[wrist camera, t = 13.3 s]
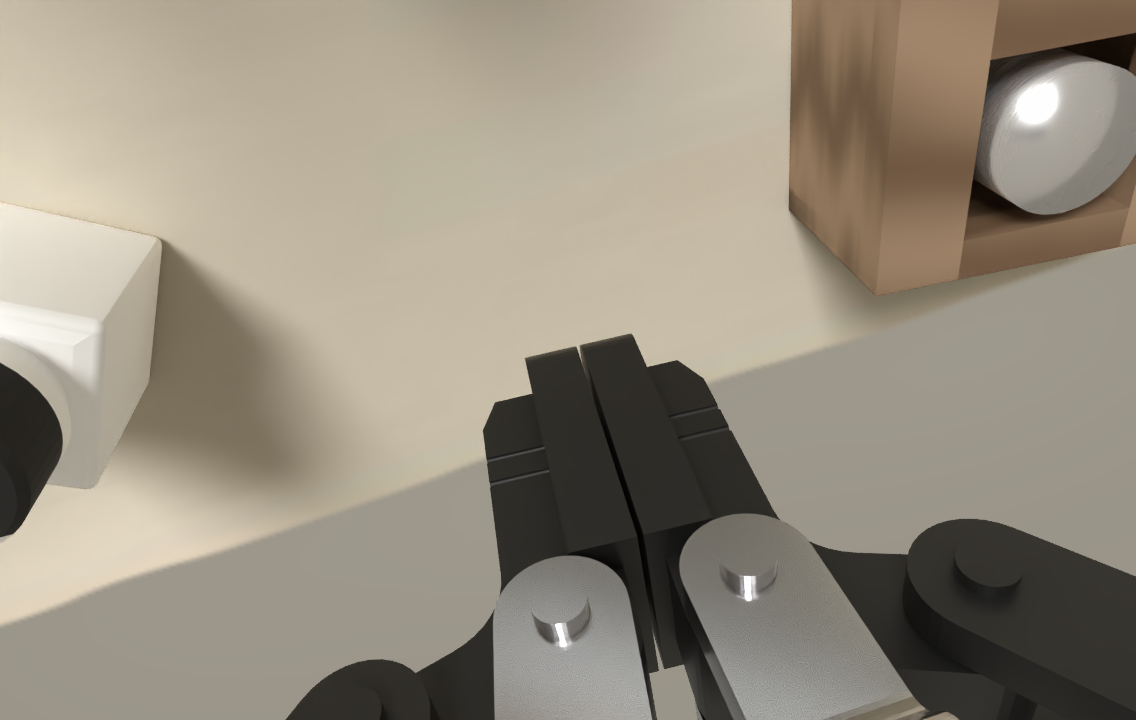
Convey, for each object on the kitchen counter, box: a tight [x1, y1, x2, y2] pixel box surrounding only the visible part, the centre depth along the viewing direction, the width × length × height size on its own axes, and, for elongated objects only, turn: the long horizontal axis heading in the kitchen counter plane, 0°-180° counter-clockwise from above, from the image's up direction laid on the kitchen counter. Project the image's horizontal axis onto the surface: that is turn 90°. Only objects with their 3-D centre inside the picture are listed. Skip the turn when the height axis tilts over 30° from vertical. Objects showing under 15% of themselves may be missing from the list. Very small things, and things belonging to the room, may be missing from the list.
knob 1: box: [973, 47, 1136, 215], centre depth 28 cm, size 5×5×5 cm
